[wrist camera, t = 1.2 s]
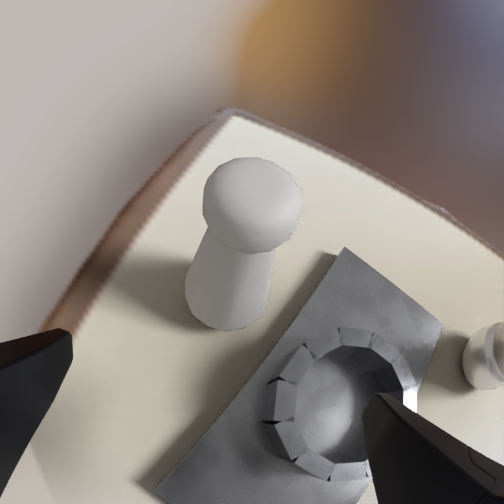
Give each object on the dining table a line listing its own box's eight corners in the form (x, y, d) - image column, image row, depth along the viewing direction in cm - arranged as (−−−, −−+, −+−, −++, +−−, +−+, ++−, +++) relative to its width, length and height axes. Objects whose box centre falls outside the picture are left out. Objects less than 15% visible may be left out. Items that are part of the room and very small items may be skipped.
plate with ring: (294, 563, 13) (316, 587, 9) (155, 487, 15) (147, 503, 12) (433, 329, 25) (464, 312, 21) (337, 255, 27) (360, 227, 24)
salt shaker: (191, 344, 21) (194, 253, 10) (179, 273, 24) (177, 140, 13) (270, 330, 23) (347, 235, 12) (251, 263, 25) (299, 137, 14)
